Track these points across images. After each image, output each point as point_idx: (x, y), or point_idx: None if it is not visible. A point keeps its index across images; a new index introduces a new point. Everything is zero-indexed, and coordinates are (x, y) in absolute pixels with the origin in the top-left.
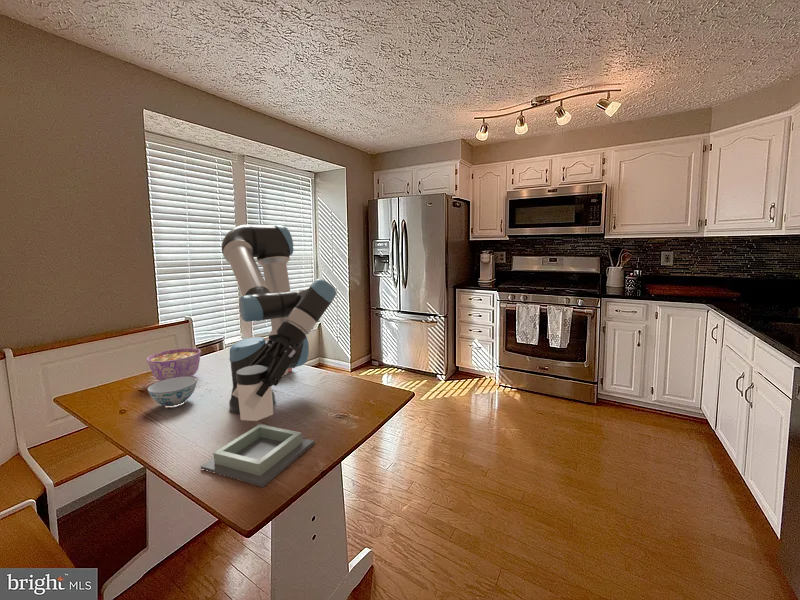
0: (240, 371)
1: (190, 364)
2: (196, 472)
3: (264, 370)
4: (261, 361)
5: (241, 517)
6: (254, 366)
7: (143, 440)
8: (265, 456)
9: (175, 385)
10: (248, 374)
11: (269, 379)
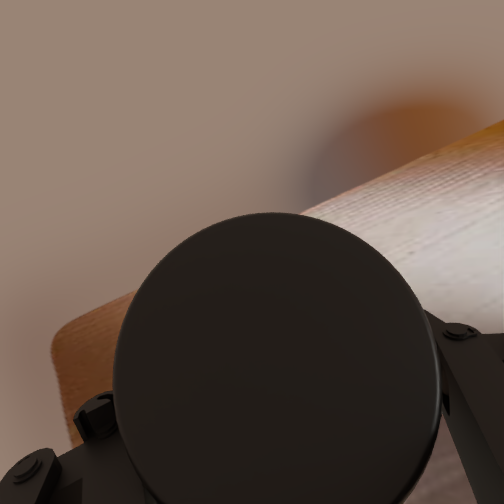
0: (282, 238)
1: None
2: None
3: (154, 455)
4: (499, 484)
5: (89, 326)
6: (385, 368)
7: (472, 162)
8: None
9: None
10: (150, 287)
11: (15, 468)
